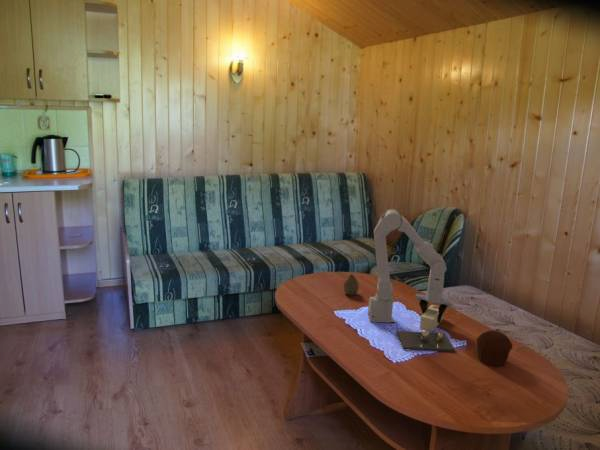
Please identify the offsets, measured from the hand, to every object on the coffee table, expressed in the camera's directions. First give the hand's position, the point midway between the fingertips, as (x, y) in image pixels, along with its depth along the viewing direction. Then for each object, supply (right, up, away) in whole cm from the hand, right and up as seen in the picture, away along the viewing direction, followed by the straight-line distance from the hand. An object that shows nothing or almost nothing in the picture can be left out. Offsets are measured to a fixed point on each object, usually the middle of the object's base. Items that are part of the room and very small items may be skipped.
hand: (431, 320), depth 197 cm
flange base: (-7, -5, -16) cm, 18 cm away
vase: (-29, +6, +29) cm, 42 cm away
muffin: (+13, -9, -28) cm, 32 cm away
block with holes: (0, -1, 0) cm, 1 cm away
